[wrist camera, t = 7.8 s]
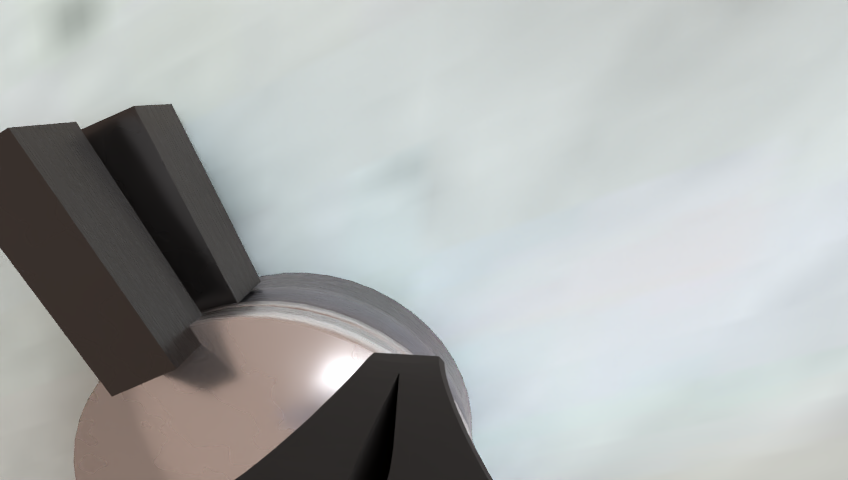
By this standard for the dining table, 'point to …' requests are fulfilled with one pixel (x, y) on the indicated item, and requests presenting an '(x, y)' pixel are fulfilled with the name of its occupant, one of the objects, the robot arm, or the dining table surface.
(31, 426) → the dining table surface
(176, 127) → the pot
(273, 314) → the pressure cooker lid
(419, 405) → the robot arm
